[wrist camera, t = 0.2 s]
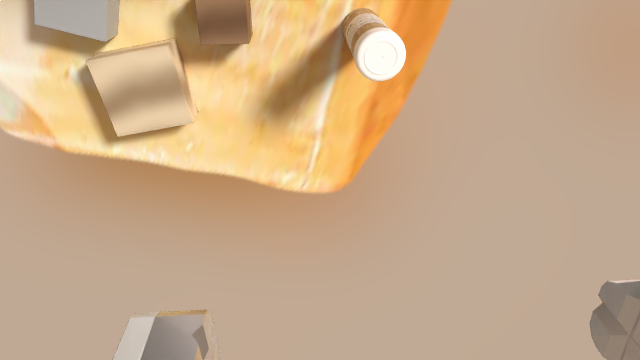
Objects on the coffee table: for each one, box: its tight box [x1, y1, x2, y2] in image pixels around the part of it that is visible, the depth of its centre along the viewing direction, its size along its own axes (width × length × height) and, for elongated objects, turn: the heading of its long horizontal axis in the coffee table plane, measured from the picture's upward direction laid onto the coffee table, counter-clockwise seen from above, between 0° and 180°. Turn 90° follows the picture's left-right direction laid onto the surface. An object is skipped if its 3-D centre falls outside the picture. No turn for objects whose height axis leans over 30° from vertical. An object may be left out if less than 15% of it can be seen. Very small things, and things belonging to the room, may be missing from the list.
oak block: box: [86, 38, 198, 137], centre depth 53 cm, size 9×9×4 cm
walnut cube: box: [195, 0, 252, 45], centre depth 49 cm, size 5×5×5 cm
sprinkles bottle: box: [343, 8, 406, 81], centre depth 47 cm, size 5×5×14 cm
